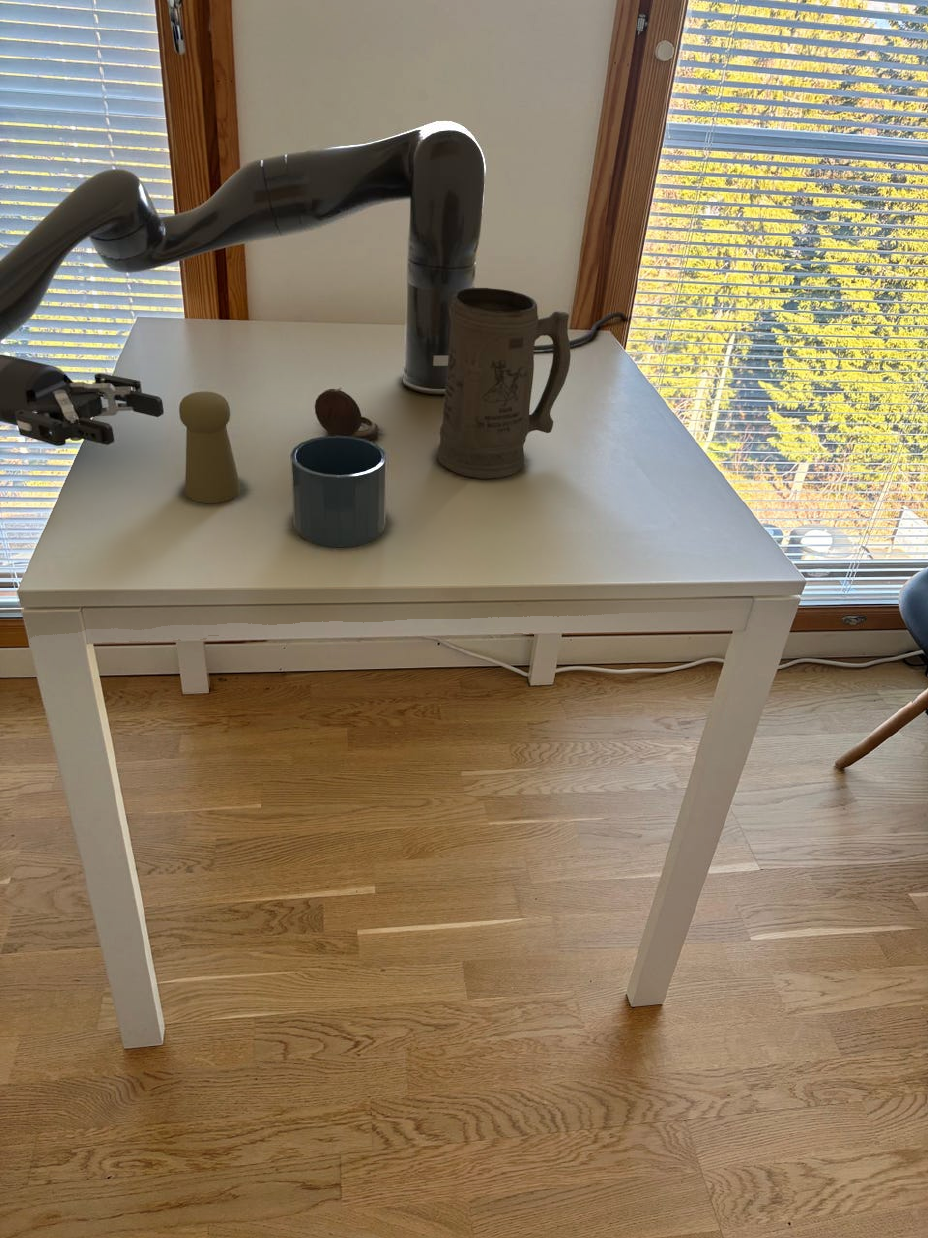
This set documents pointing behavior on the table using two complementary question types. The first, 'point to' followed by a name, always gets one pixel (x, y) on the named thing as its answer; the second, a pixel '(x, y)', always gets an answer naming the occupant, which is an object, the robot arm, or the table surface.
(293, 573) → the table surface
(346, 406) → the compass
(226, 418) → the cork
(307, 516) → the tumbler
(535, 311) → the beer stein
